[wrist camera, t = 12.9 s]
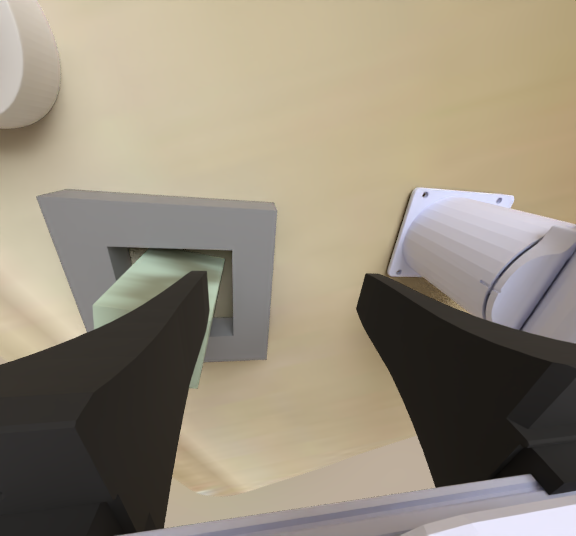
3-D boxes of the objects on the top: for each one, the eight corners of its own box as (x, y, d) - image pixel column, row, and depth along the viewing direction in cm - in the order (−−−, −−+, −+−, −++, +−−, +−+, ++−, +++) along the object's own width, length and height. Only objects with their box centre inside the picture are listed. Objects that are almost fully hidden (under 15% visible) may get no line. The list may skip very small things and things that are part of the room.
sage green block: (225, 258, 20) (210, 321, 13) (214, 310, 22) (197, 388, 15) (153, 244, 18) (92, 305, 11) (150, 301, 21) (97, 382, 14)
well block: (273, 202, 18) (277, 210, 16) (265, 340, 24) (266, 359, 22) (65, 189, 16) (36, 196, 14) (114, 344, 22) (100, 366, 20)
